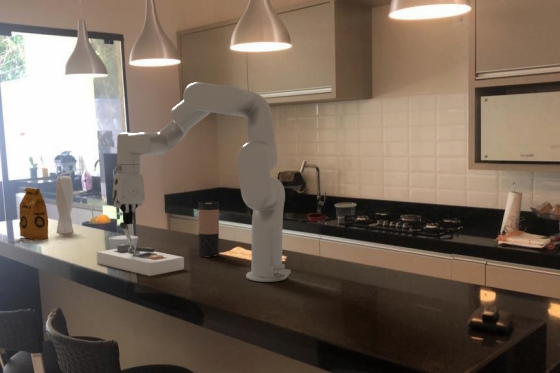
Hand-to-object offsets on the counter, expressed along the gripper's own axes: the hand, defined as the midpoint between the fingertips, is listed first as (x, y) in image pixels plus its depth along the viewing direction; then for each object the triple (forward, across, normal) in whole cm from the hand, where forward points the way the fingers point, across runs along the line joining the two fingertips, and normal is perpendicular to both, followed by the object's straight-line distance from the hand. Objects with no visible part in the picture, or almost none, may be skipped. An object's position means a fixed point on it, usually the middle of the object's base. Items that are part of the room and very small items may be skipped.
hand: (128, 223), depth 194 cm
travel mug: (+14, +31, -7) cm, 35 cm away
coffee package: (+16, +7, +77) cm, 79 cm away
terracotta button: (+13, +2, -13) cm, 18 cm away
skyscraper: (+16, +25, +83) cm, 89 cm away
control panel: (+14, +2, -4) cm, 15 cm away
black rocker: (+8, +2, -6) cm, 11 cm away
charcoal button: (+11, +2, +5) cm, 13 cm away
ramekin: (+15, +16, +25) cm, 34 cm away
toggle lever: (+9, +2, 0) cm, 10 cm away
